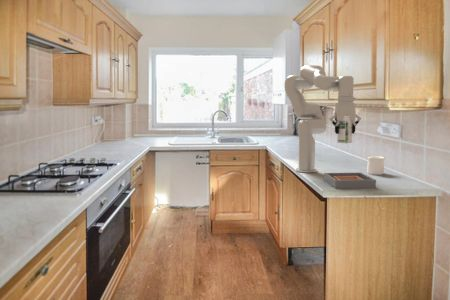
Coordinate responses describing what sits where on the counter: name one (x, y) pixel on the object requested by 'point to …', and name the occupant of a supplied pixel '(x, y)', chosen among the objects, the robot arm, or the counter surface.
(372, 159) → the cup
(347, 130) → the syrup box
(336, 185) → the walled box
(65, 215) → the counter surface
